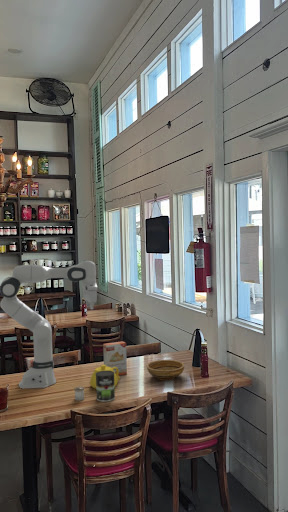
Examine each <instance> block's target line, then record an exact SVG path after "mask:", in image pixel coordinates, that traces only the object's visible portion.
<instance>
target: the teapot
mask: <svg viewBox="0 0 288 512" xmlns="http://www.w3.org/2000/svg"><path fill="white" fill-rule="evenodd" d="M113 369H116V374H115V372H114V370H113ZM99 371H113V372H114V387H115V388H116V386H117V384H118V383H119V380H121V377H120V376H118V373H119V370H118V368H117V367H113V368H111V367H108V366H106V365H104V364H101V365H100V366H98V367H96V368H95V369H94V371H93V373H92V374H91V377H90V380H89V384H90V387H92V388H93V389H94V390H96V373H97V372H99Z"/></svg>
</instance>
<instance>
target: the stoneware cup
mask: <svg viewBox="0 0 288 512" xmlns="http://www.w3.org/2000/svg"><path fill="white" fill-rule="evenodd" d="M74 400H75V401H77V400H78V401H83V400H85V387H84V386H76V387H74Z"/></svg>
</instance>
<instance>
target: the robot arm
mask: <svg viewBox="0 0 288 512" xmlns="http://www.w3.org/2000/svg"><path fill="white" fill-rule="evenodd" d="M96 276H97V267H96V263H95V262H94V261H92V260H87V259H86V260H82V261H81V262H80V263H78V264H73V265H69V266H67V267H48V266H44V265H40V264H22V265H17V266H15V267H14V268H13V270H12V276H8V277H6V278H4V279H3V280H2V282H0V294H1V295H2V298H1V300H0V308H1V309H2V310H3V311H4V312H5V313H6V315H8V316H9V317H10V318H12V319H13V320H14V321H15V322H17V323H18V324H19V325H20V326H22V327H24V328H26V329H28V330H29V331H30V332H31V333H33V335H32V336H33V356H34V357H33V360H30V368H28V369H27V370H26V371H25V373H23V375H22V379H21V380H20V382H19V383H18V388H19V387H20V389H21V388H22V390H23V389H24V388H26V389H40V388H41V389H45V388H48V387H49V386H53V385H54V384H56V382H57V379H56V377H55V376H56V375H55V371H54V368H55V363H54V358H53V330H52V325H51V323H50V321H49V320H47V319H46V318H44V317H43V316H42V315H40V314H39V313H38V312H36V311H34V310H33V309H32V308H31V307H29V306H28V305H27V304H25V303H24V302H23V301H21V300H20V299H19V298H18V297H17V295H18V293H19V291H20V289H21V285H23V284H35V283H42V282H45V281H48V280H50V279H68V280H69V281H71V282H73V283H77V282H81V284H82V287H81V289H82V290H83V294H82V295H83V298H82V299H83V300H85V304H86V308H89V310H94V308H95V307H94V305H95V304H96V303H97V300H98V298H97V297H98V288H99V287H98V285H97V278H96Z"/></svg>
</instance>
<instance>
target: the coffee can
mask: <svg viewBox="0 0 288 512" xmlns="http://www.w3.org/2000/svg"><path fill="white" fill-rule="evenodd" d="M115 389H116V386H115V387H114V372H113V371H99V372H97V373H96V389H95V390H96V400H97V402H103V403H104V402H111V401H114V400H115V399H116V395H115Z"/></svg>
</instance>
